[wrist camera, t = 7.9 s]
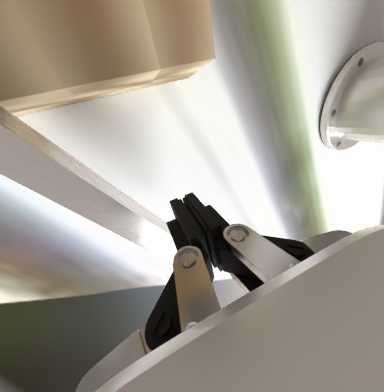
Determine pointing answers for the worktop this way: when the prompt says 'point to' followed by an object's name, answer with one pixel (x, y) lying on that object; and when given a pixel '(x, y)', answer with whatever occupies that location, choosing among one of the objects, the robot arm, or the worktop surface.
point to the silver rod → (77, 186)
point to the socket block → (97, 48)
